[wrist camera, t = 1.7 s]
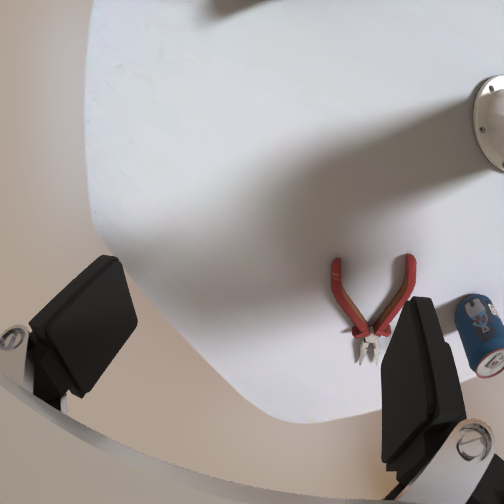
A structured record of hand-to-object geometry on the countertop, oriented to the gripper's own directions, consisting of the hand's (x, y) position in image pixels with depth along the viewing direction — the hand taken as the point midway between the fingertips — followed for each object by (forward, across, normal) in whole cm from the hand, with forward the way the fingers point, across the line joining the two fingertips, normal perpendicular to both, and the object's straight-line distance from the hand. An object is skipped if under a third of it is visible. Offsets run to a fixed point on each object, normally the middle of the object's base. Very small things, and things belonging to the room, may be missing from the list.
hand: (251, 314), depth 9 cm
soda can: (+29, -28, +20) cm, 45 cm away
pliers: (+29, -9, +22) cm, 38 cm away
